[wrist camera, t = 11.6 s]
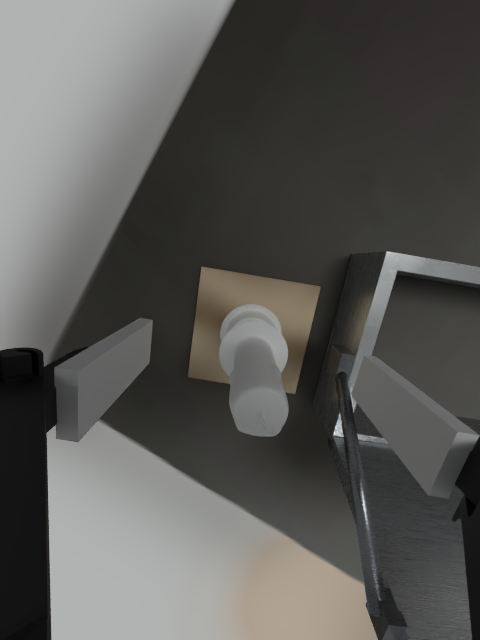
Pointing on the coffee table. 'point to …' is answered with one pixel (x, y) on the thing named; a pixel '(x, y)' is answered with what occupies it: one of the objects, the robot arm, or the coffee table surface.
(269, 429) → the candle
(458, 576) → the case
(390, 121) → the coffee table surface
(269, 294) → the mat
